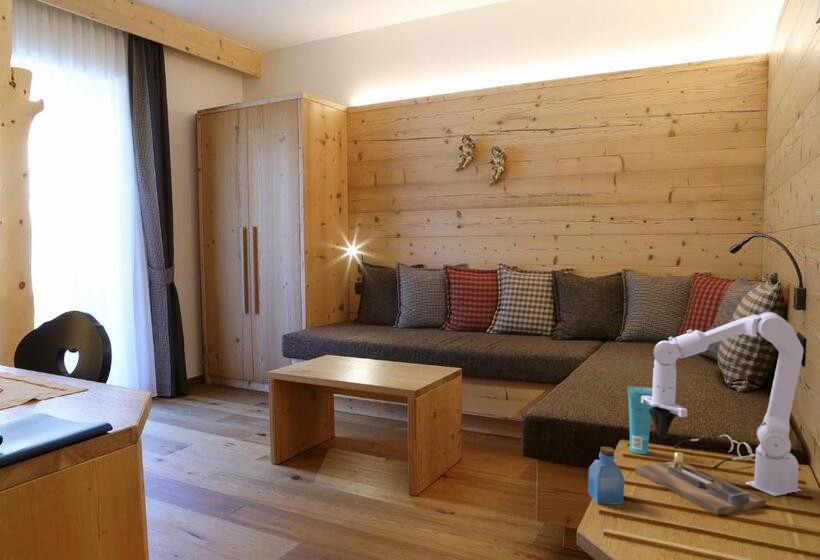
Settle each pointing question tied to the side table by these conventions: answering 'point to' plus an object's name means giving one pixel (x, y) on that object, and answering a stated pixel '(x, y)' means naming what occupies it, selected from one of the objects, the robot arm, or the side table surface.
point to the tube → (639, 419)
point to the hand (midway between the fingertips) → (661, 435)
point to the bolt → (678, 465)
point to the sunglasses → (729, 451)
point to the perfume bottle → (606, 479)
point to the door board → (701, 488)
